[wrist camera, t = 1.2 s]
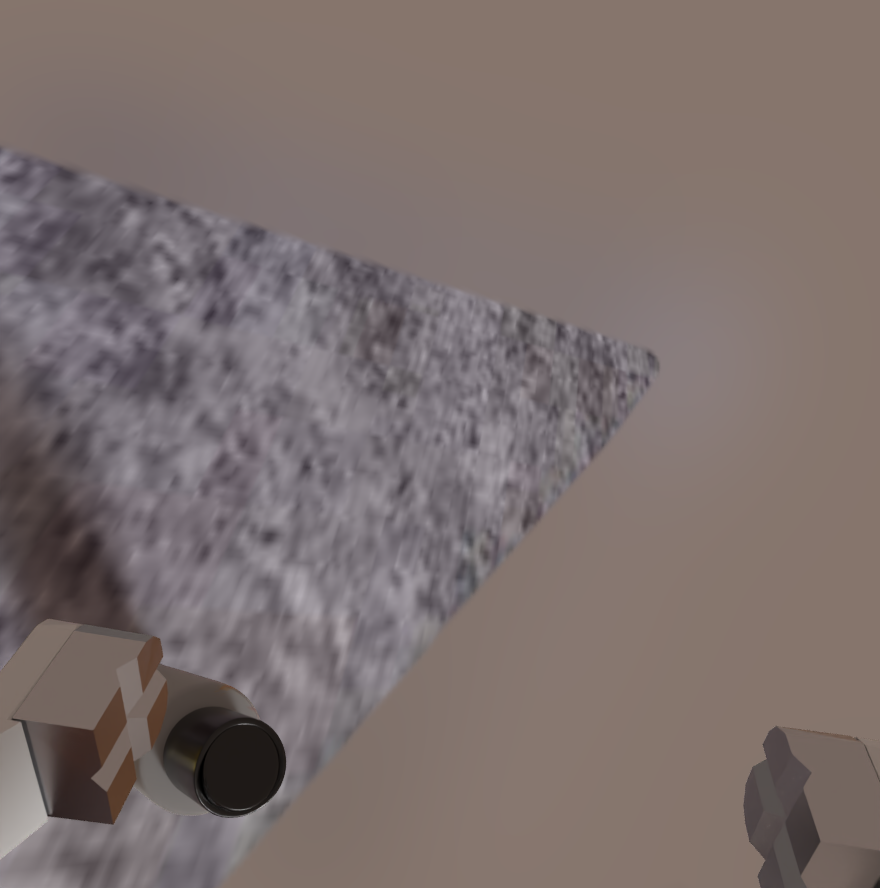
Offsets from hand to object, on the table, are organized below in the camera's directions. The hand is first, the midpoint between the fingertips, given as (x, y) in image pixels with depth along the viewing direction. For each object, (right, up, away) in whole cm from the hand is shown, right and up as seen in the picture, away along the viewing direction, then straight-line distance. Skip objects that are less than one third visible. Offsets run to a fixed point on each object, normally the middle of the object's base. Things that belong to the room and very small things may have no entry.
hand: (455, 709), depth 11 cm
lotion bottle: (-19, -12, +37) cm, 43 cm away
